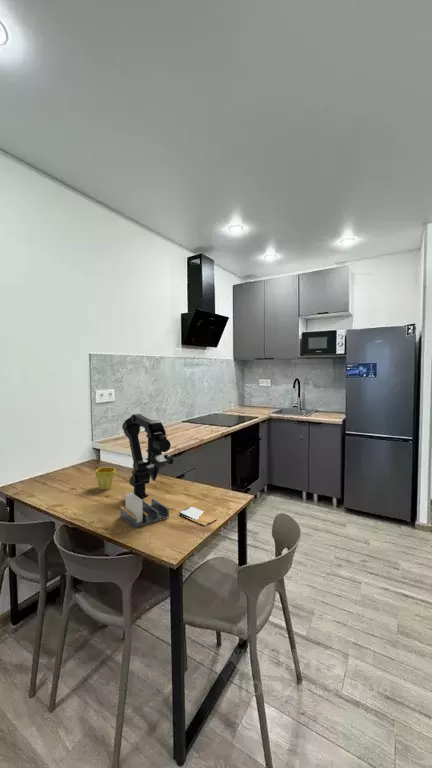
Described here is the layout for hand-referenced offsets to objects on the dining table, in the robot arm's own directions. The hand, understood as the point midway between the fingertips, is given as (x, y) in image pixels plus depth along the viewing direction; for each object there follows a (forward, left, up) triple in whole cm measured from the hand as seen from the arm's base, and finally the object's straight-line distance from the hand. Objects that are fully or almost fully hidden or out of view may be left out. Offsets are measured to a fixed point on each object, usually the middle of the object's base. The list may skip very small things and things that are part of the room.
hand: (153, 480), depth 150 cm
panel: (+8, -14, -11) cm, 19 cm away
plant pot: (-37, -9, -12) cm, 40 cm away
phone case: (+22, +9, -13) cm, 27 cm away
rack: (+8, -9, -12) cm, 17 cm away
